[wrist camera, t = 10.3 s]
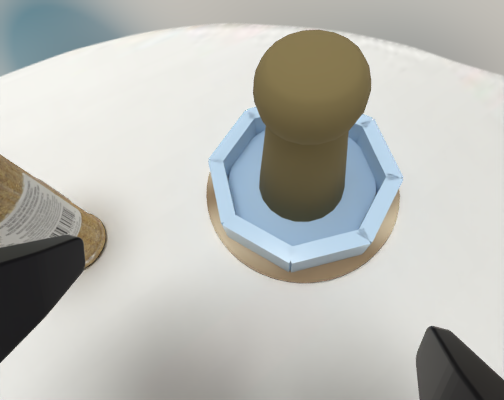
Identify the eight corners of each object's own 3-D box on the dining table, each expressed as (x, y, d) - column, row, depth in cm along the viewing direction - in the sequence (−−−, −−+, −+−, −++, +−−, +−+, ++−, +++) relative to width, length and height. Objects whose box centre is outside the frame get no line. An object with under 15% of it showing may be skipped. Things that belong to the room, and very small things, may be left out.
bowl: (413, 241, 21) (429, 228, 19) (238, 286, 21) (232, 278, 19) (349, 104, 27) (355, 82, 24) (207, 140, 26) (199, 120, 24)
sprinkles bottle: (79, 205, 25) (-110, 73, 13) (120, 234, 24) (-49, 118, 12) (35, 253, 24) (-220, 156, 12) (76, 287, 23) (-166, 217, 11)
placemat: (432, 253, 21) (435, 251, 21) (227, 306, 21) (226, 305, 21) (356, 96, 27) (356, 92, 27) (194, 136, 27) (193, 133, 27)
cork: (348, 151, 24) (393, 10, 14) (340, 228, 21) (388, 125, 11) (267, 142, 25) (255, 4, 15) (251, 214, 22) (224, 108, 12)
